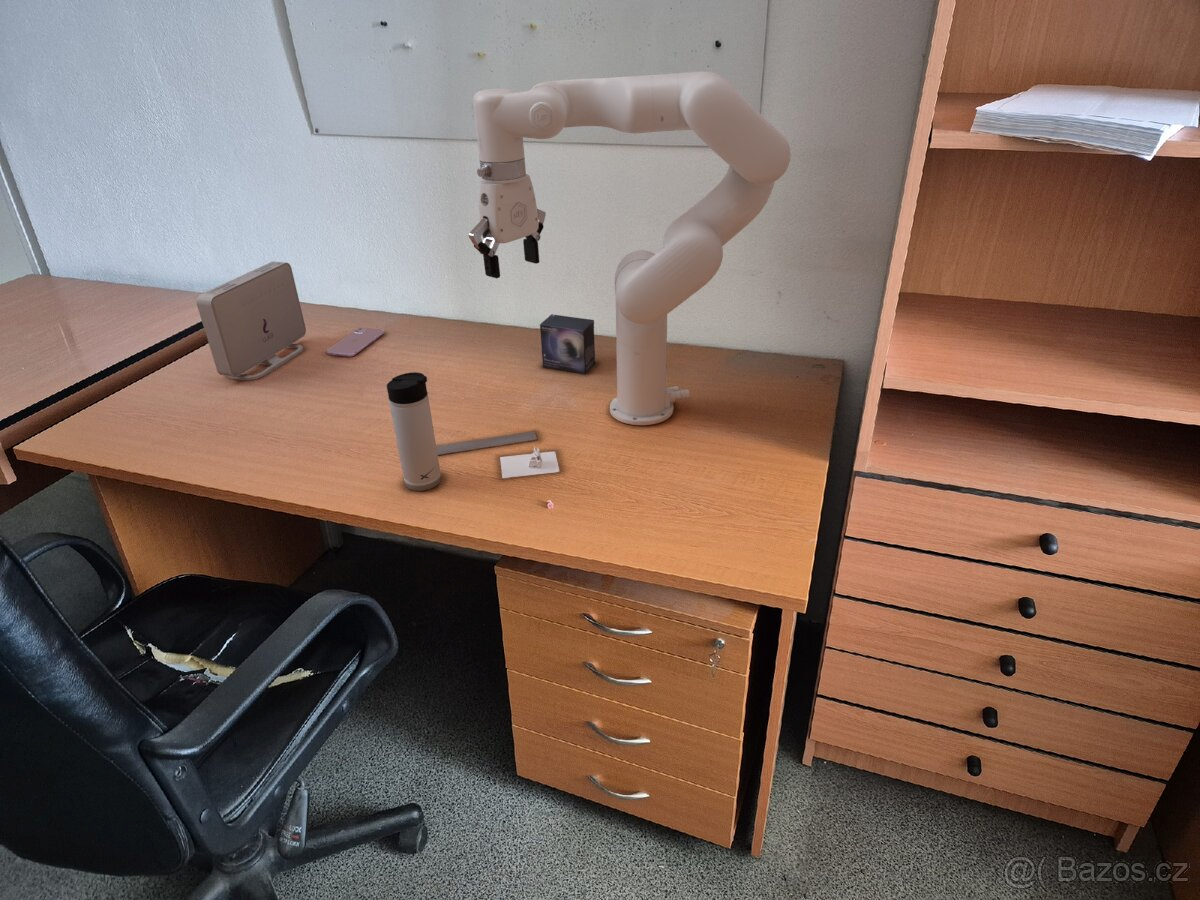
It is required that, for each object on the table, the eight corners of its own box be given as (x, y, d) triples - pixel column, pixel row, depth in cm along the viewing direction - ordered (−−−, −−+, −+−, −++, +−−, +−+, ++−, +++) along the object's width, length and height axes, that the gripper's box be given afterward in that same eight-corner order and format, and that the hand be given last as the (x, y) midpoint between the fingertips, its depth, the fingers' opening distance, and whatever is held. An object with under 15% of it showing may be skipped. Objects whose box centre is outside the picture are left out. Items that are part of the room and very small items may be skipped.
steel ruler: (534, 432, 149) (534, 431, 148) (537, 440, 146) (537, 438, 146) (428, 448, 144) (427, 447, 144) (429, 457, 142) (429, 455, 142)
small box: (541, 368, 173) (537, 323, 167) (553, 356, 178) (550, 313, 173) (585, 375, 169) (583, 329, 164) (596, 363, 174) (595, 318, 169)
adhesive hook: (543, 467, 138) (542, 452, 136) (529, 469, 137) (527, 454, 136) (541, 459, 140) (540, 444, 139) (527, 460, 140) (526, 445, 138)
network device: (244, 388, 168) (218, 299, 158) (211, 383, 171) (183, 296, 160) (316, 342, 189) (298, 261, 179) (286, 338, 191) (266, 258, 181)
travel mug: (435, 493, 132) (417, 387, 121) (398, 489, 133) (378, 384, 123) (448, 473, 137) (432, 370, 127) (413, 470, 138) (394, 367, 128)
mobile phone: (323, 350, 182) (358, 326, 194) (324, 354, 182) (359, 330, 194) (351, 353, 180) (385, 329, 192) (352, 357, 180) (386, 333, 192)
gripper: (479, 182, 123) (491, 286, 132) (554, 162, 134) (561, 260, 143) (448, 177, 128) (462, 278, 137) (524, 158, 139) (532, 253, 148)
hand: (513, 269), depth 140 cm, fingers open, 9 cm apart
